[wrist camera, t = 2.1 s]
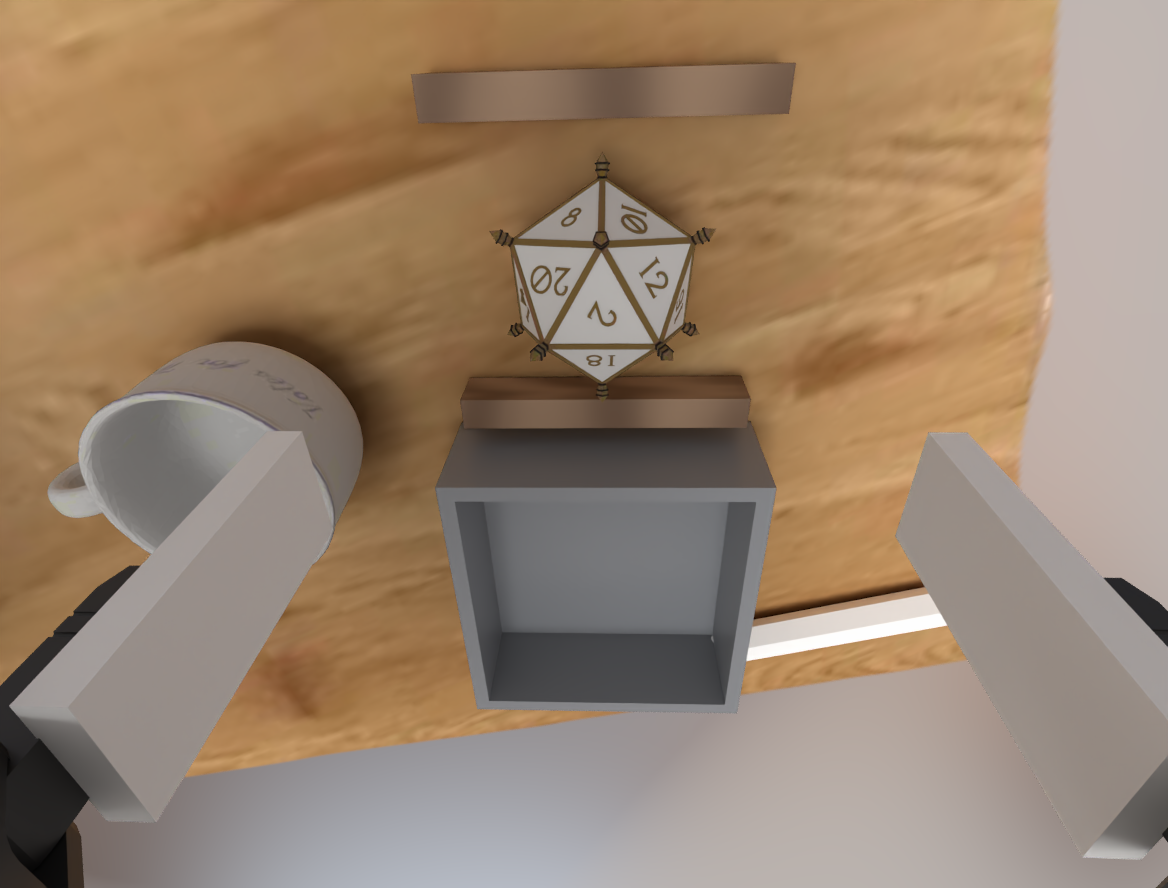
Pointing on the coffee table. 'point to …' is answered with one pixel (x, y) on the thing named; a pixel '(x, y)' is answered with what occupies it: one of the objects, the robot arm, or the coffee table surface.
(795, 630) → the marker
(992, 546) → the robot arm
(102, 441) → the teacup
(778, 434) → the coffee table surface
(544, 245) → the game die
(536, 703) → the bin
